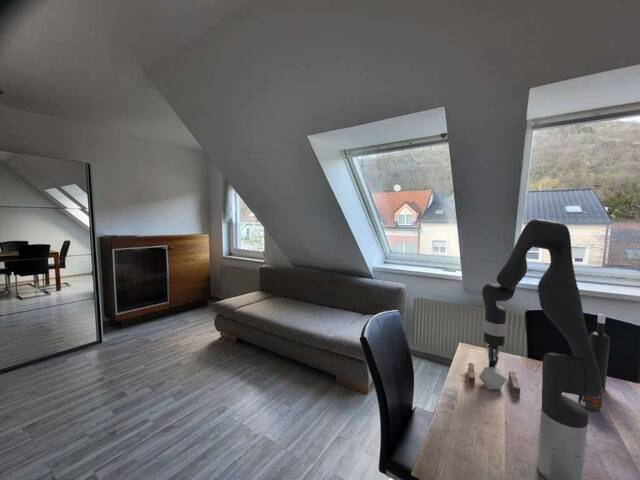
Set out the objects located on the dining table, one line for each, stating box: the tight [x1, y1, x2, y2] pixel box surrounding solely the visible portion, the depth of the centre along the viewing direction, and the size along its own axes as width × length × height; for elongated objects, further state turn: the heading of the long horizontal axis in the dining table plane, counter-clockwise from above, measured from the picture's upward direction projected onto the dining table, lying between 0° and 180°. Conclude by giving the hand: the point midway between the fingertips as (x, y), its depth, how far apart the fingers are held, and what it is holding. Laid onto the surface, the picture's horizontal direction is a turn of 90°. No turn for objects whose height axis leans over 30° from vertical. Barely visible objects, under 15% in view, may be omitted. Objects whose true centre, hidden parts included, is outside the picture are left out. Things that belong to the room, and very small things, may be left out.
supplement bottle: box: [577, 387, 604, 413], centre depth 101 cm, size 6×6×11 cm
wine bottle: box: [588, 313, 611, 391], centre depth 113 cm, size 6×6×30 cm
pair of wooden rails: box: [467, 362, 521, 399], centre depth 116 cm, size 12×17×4 cm
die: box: [478, 366, 508, 390], centre depth 113 cm, size 8×9×10 cm
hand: (491, 371), depth 118 cm, fingers closed
